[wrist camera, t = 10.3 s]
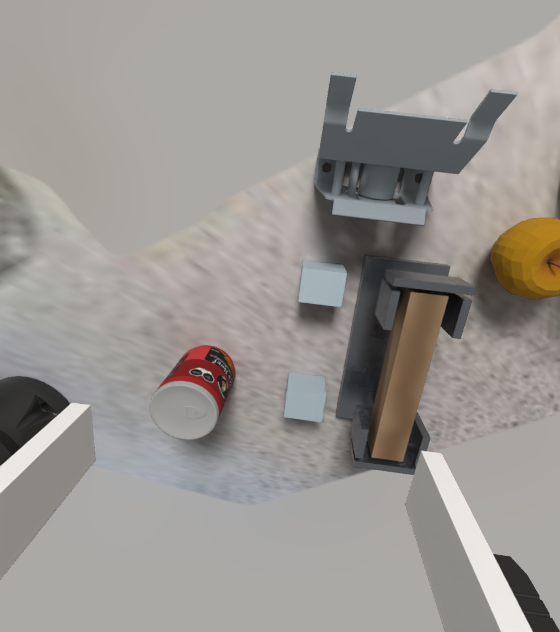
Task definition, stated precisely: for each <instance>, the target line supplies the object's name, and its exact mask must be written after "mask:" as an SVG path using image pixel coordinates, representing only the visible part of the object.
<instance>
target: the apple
mask: <svg viewBox="0 0 560 632" xmlns="http://www.w3.org/2000/svg"><path fill="white" fill-rule="evenodd" d="M490 260H491V263H492V266H493V268H494V271H495V274H496V277H497V279H498V281H499V282H500V284H501V285H502V286H503V287H504V288H505V289H506V290H508V291H509V292H510V293H512V294H515V295H519V296H522V297H525V298H529V299H542V298H549V297H555V296H559V295H560V219H555V218H532V219H528V220H525V221H522V222H520V223H518V224H517V225H515V226H513V227H512V228H510V229H509V230H507V231H506V232H505V233H503V234H502V235H501V236H500V237H499V238H498V240H497V241H496V242H495V244H494V246H493V248H492V251H491V258H490Z"/></svg>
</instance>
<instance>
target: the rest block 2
mask: <svg viewBox="0 0 560 632" xmlns="http://www.w3.org/2000/svg"><path fill="white" fill-rule="evenodd" d="M325 399H326V390H325V379H324V377H323V376H315V375H307V374H299V373H292V372H289V377H288V385H287V393H286V401H285V410H284V417H286V418H293V419H301V420H308V421H316V422H322V417H323V411H324V405H325Z"/></svg>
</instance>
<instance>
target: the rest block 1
mask: <svg viewBox="0 0 560 632" xmlns="http://www.w3.org/2000/svg"><path fill="white" fill-rule="evenodd" d="M346 277H347V272H346V270H345V268H344V266H343V265H340V264H332V263H323V262H315V261H306V260H303V266H302V274H301V282H300V290H299V300H298V302H303V303H311V304H320V305H328V306H336V307H341V306H342V300H343V294H344V288H345V283H346Z"/></svg>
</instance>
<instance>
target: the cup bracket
mask: <svg viewBox="0 0 560 632" xmlns="http://www.w3.org/2000/svg"><path fill="white" fill-rule="evenodd" d="M449 270H450V266H448V265H446V264H437V263H428V262H420V261H411V260H402V259H394V258H385V257H376V256H368V255H365V258H364V264H363V269H362V274H361V280H360V285H359V290H358V296H357V301H356V307H355V312H354V317H353V323H352V328H351V334H350V339H349V344H348V350H347V355H346V360H345V366H344V371H343V377H342V382H341V387H340V393H339V398H338V403H337V409H336V417H341V418H348V419H353V422H352V427H351V436H352V438H351V439H350V449H351V455H352V461H353V467H360V468H367V469H375V470H382V471H389V472H397V473H403V474H411V475H414V473H415V470H416V466H417V463H418V460H419V456H420V453H421V451H427V448H428V445H429V441H430V436H429V434H428V432H427V430H426V428H425V426H424V424H423V422H422V420H421V418H420V416H419V414H418V412H416V416H415V419H414V423H413V427H412V430H411V434H410V437H409V441H408V445H407V448H406V452H405V455H404V459H403V462H401V461H394V460H387V459H379V458H372V457H371V453H370V449H369V445H368V441H367V436H368V432H369V425H370V420H371V416H372V411H373V407H374V403H375V398H376V394H377V389H378V385H379V381H380V376H381V372H382V367H383V363H384V359H385V354H386V350H387V345H388V341H389V337H390V332H391V330H392V326H393V322H394V318H395V313H396V309H397V305H398V300H399V296H400V288H401V287H407V288H415V289H424V290H432V291H440V292H443V293H444V294H446V295H447V296H449V297H448V301H447V304H446V308H445V312H444V315H443V319H442V322H441V327H442V328H443V329H444V330H445V331H446V332H447V333H448V334H449V335H450V336H451V337H452V338H457V339H461V336H462V333H463V329H464V326H465V323H466V320H467V316H468V313H469V310H470V306H471V303H472V300H471V299H469V298H468V297H466V296H465V295H463V294H466V295H474V293H475V290H476V287H475V286H473V285H471V284H469V283H468V282H466V281H464V280H462V279H460V278H458V277H449V276H448V274H449Z"/></svg>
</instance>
